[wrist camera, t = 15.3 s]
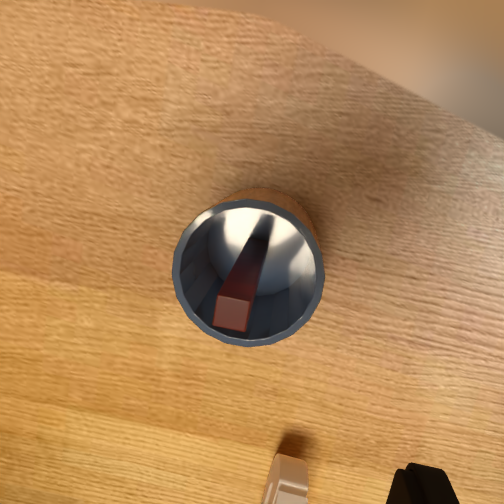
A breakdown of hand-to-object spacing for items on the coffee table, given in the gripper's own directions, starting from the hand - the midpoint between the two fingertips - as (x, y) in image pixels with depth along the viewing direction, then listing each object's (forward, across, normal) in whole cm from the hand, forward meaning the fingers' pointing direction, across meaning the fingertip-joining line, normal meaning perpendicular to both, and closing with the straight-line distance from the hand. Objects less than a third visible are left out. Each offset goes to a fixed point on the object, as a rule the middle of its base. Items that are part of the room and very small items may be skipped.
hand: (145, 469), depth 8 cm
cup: (+26, 0, +1) cm, 26 cm away
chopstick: (+26, 0, +2) cm, 26 cm away
